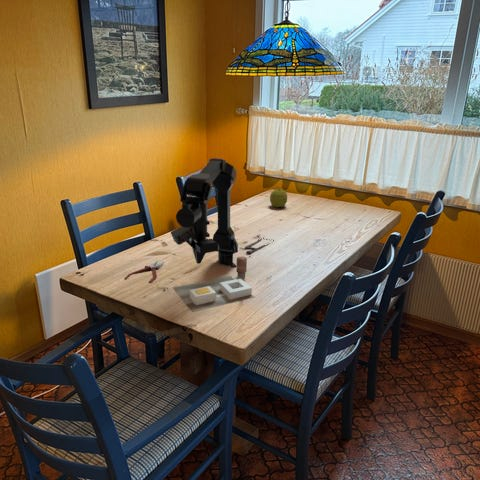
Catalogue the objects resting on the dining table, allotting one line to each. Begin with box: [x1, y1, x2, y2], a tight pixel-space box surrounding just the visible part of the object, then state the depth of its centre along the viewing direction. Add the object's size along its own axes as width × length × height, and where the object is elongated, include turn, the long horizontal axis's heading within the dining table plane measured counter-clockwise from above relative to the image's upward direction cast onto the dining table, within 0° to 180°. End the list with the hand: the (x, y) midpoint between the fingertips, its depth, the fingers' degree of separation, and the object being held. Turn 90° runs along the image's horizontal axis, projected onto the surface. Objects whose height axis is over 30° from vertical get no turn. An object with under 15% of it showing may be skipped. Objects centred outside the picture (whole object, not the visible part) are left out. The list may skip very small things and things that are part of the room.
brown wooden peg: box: [235, 256, 248, 280], centre depth 159 cm, size 4×4×9 cm
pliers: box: [123, 260, 165, 284], centre depth 164 cm, size 12×20×3 cm, turn 165°
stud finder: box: [190, 286, 216, 305], centre depth 143 cm, size 5×7×3 cm
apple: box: [269, 188, 288, 208], centre depth 247 cm, size 10×10×11 cm
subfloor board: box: [172, 275, 255, 313], centre depth 149 cm, size 18×22×2 cm
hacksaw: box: [239, 234, 275, 255], centre depth 195 cm, size 24×10×2 cm, turn 145°
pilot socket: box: [220, 278, 253, 299], centre depth 149 cm, size 8×8×2 cm
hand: (198, 263), depth 143 cm, fingers closed
